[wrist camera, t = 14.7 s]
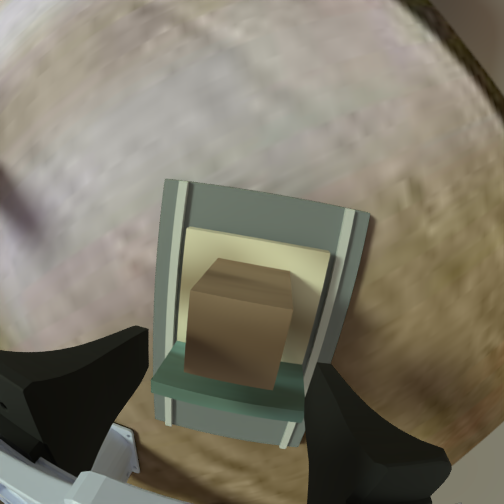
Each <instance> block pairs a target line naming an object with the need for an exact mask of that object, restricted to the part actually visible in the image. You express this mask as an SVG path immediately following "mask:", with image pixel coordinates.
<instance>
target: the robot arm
mask: <svg viewBox="0 0 504 504" xmlns="http://www.w3.org/2000/svg"><path fill="white" fill-rule="evenodd" d="M148 367H149V356H148V329H147V328H143V327H140V326H133V327H130V328H127V329H124V330H122V331H119V332H117V333H114V334H112V335H109V336H106V337H104V338H101V339H98V340H95V341H92V342H89V343H86V344H83V345H79V346H75V347H71V348H66V349H61V350H54V351H45V352H12V351H2V350H0V500H1V501H2V502H4V503H5V504H192V503H188V502H184V501H181V500H177V499H173V498H170V497H166V496H163V495H160V494H157V493H154V492H151V491H148V490H145V489H142V488H139V487H136V486H133V485H131V484H128V483H126V482H127V480H128V478H129V476H130V474H131V472H132V471H133V472H135V473H139V472H140V467H139V462H138V457H137V451H136V446H135V440H134V433H133V431H132V430H131V429H128V428H126V427H123V426H120V425H118V424H115V423H113V422H114V421H115V419H116V417H117V416H118V414H119V413H120V412H121V410H122V409H123V407H124V406H125V405H126V403H127V402H128V400H129V399H130V398H131V396H132V395H133V393H134V392H135V391H136V389H137V388H138V386H139V385H140V383H141V381H142V379H143V377H144V375H145V373H146V371H147V369H148ZM304 422H305V431H306V440H307V449H308V458H309V482H308V499H307V504H432V500H431V497H430V496H431V495H432V494H433V493H434V492H435V491H436V490H437V489H438V488H439V487H440V486H441V485H442V484H443V483H444V481H445V480H446V479H447V477H448V476H449V474H450V472H451V463H450V461H449V459H448V457H447V455H446V453H445V451H444V449H443V448H441V447H438V446H435V445H432V444H429V443H427V442H424V441H421V440H419V439H417V438H415V437H413V436H411V435H409V434H407V433H405V432H403V431H402V430H400V429H398V428H397V427H395V426H394V425H392V424H391V423H389V422H388V421H386V420H385V419H383V418H382V417H381V416H380V415H378V414H377V413H376V412H375V411H373V410H372V409H371V408H370V407H369V406H368V405H367V404H366V403H365V402H364V401H363V400H362V399H361V398H360V397H359V396H358V395H357V394H356V393H355V392H354V391H353V390H352V389H351V387H350V386H349V385H348V384H347V383H346V382H345V380H344V379H343V378H342V377H341V376H340V374H339V373H338V372H337V371H336V369H335V368H334V367H333V366H332V365H331V364H328V363H320V362H317V363H316V366H315V369H314V372H313V375H312V378H311V381H310V384H309V387H308V390H307V393H306V396H305V401H304ZM457 504H462V503H457Z"/></svg>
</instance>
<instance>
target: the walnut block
mask: <svg viewBox="0 0 504 504" xmlns="http://www.w3.org/2000/svg"><path fill="white" fill-rule="evenodd" d="M292 313H293V300H292V289H291V278H290V271H287V270H282V269H276V268H271V267H265V266H260V265H254V264H249V263H244V262H238V261H233V260H227V259H222V258H217V260H216V261H215V262H214V263H213V264H212V265H211V267H210V268H209V269H208V270H207V271H206V272H205V273H204V275H203V276H202V277H201V278H200V279H199V280H198V282H197V283H196V284H195V285H194V286H193V287H192V289H191V290H190V297H189V308H188V319H187V331H186V344H185V358H184V372H186V373H190V374H194V375H198V376H202V377H206V378H210V379H215V380H220V381H224V382H229V383H234V384H239V385H244V386H250V387H255V388H261V389H267V390H273V388H274V384H275V381H276V377H277V373H278V370H279V366H280V362H281V358H282V354H283V350H284V346H285V342H286V338H287V334H288V330H289V326H290V322H291V318H292Z"/></svg>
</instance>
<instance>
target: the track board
mask: <svg viewBox="0 0 504 504" xmlns="http://www.w3.org/2000/svg"><path fill="white" fill-rule="evenodd" d="M369 218H370V213H368V212H363V211H359V210H354V209H349V208H345V207H340V206H335V205H330V204H325V203H320V202H315V201H310V200H304V199H299V198H294V197H288V196H282V195H277V194H271V193H265V192H259V191H253V190H246V189H240V188H233V187H226V186H219V185H212V184H205V183H198V182H190V181H182V180H173V179H165V182H164V190H163V198H162V206H161V215H160V225H159V235H158V247H157V260H156V275H155V293H154V322H153V376H154V375H155V373H156V372H157V370H158V369H159V367H160V366H161V364H162V362H163V361H164V359H165V358H166V356H167V355H168V353H169V352H170V350H171V349H172V347H173V346H174V344H175V343H176V341H177V330H178V315H179V301H180V288H181V277H182V266H183V256H184V246H185V237H186V228H188V227H196V228H202V229H208V230H214V231H220V232H226V233H232V234H238V235H244V236H249V237H255V238H261V239H267V240H272V241H278V242H283V243H289V244H295V245H300V246H306V247H311V248H317V249H322V250H328V251H329V252H330V258H329V262H328V267H327V271H326V276H325V280H324V284H323V288H322V292H321V297H320V301H319V305H318V309H317V312H316V316H315V320H314V324H313V328H312V331H311V335H310V339H309V342H308V346H307V349H306V353H305V356H304V360H303V363H302V369H303V380H304V392H305V396H306V393H307V390H308V387H309V384H310V381H311V378H312V375H313V372H314V369H315V366H316V363H317V362H320V363H328V364H331V361H332V358H333V355H334V352H335V349H336V345H337V342H338V339H339V336H340V333H341V329H342V326H343V323H344V319H345V316H346V313H347V309H348V306H349V302H350V298H351V295H352V291H353V287H354V283H355V280H356V276H357V272H358V268H359V263H360V259H361V255H362V251H363V246H364V242H365V237H366V232H367V228H368V223H369ZM154 407H155V419H158V420H161V421H164V422H165V425H168V426H172V424H175V425H178V426H182V427H186V428H189V429H193V430H198V431H202V432H206V433H210V434H215V435H220V436H225V437H230V438H235V439H240V440H246V441H252V442H259V443H266V444H273V445H280V448H282V449H286V447H287V446H291V447H298V446H299V444H300V441H301V439H302V437H303V434H304V432H305V422H304V418H303V421H302V423H297V422H288V421H280V420H272V419H265V418H259V417H253V416H247V415H241V414H236V413H231V412H226V411H221V410H216V409H212V408H207V407H203V406H199V405H195V404H191V403H187V402H183V401H179V400H175V399H172V398H168V397H165V396H161V395H158V394H155V393H154Z"/></svg>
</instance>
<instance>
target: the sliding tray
mask: <svg viewBox="0 0 504 504" xmlns="http://www.w3.org/2000/svg"><path fill="white" fill-rule="evenodd" d="M217 258H222V259H227V260H233V261H238V262H244V263H249V264H254V265H260V266H265V267H271V268H276V269H282V270H287V271H290V278H291V289H292V300H293V313H292V318H291V322H290V326H289V330H288V334H287V338H286V342H285V346H284V350H283V354H282V358H281V362H280V366H279V370H278V373H277V377H276V381H275V384H274V388H273V390H267V389H261V388H255V387H250V386H244V385H239V384H234V383H229V382H224V381H220V380H215V379H210V378H206V377H202V376H198V375H194V374H190V373H186V372H184V358H185V344H186V331H187V319H188V308H189V297H190V290H191V289H192V287H193V286H194V285H195V284H196V283H197V282H198V280H199V279H200V278H201V277H202V276H203V275H204V273H205V272H206V271H207V270H208V269H209V268H210V267H211V265H212V264H213V263H214V262H215V261H216V260H217ZM329 258H330V252H329V251H328V250H322V249H317V248H311V247H306V246H300V245H295V244H289V243H283V242H278V241H272V240H267V239H261V238H255V237H249V236H244V235H238V234H232V233H226V232H220V231H214V230H208V229H202V228H196V227H188V228H186V237H185V246H184V256H183V266H182V277H181V288H180V301H179V315H178V330H177V341H176V343H175V344H174V346H173V347H172V349H171V350H170V352H169V353H168V355H167V356H166V358H165V359H164V361H163V362H162V364H161V366H160V367H159V369H158V370H157V372H156V373H155V375H154V376H153V378H152V379H151V393H155V394H158V395H161V396H165V397H168V398H172V399H175V400H179V401H183V402H187V403H191V404H195V405H199V406H203V407H207V408H212V409H216V410H221V411H226V412H231V413H236V414H241V415H247V416H253V417H259V418H265V419H272V420H280V421H288V422H297V423H302V421H303V418H304V401H305V392H304V380H303V369H302V363H303V360H304V356H305V353H306V349H307V346H308V342H309V339H310V335H311V331H312V328H313V324H314V320H315V316H316V312H317V309H318V305H319V301H320V297H321V292H322V288H323V284H324V280H325V276H326V271H327V267H328V262H329Z"/></svg>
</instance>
